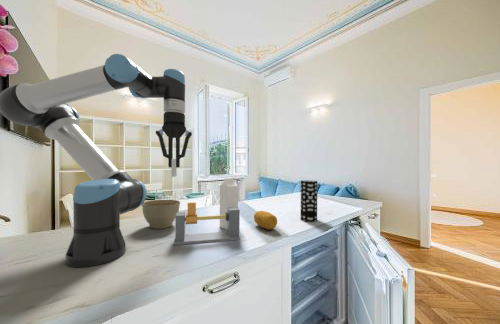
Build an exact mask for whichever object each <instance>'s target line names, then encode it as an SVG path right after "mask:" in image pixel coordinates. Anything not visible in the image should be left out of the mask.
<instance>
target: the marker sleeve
mask: <svg viewBox="0 0 500 324" xmlns="http://www.w3.org/2000/svg"><path fill="white" fill-rule="evenodd" d="M197 216H198V213H197V202H196V201H195V202H194V201H193V202H187V213H185V217H186V221H185V225H195V224H198V220H197Z"/></svg>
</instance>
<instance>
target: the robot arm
mask: <svg viewBox="0 0 500 324" xmlns="http://www.w3.org/2000/svg"><path fill="white" fill-rule="evenodd" d="M125 88H128V89H129V92H130V93H131V95H132V96H133V97H134V98H137V99H138V98H140V99H159V98H160V99H163V112H164V113H163V124H162V126H161V128H160V129H159V130H155V135H156V136H157V137H158V140H159V145H160V148H161V153H162V156H163V157H164V158H167V159H168V161H167V162H168V164H167V165H168V168H171V178H172V177H173V178H174V177H175V178H176V177H177V176H178V174H177V173H178V170H177V168H180V167H181V164H180V163H181V162H180V161H181V159H182V158H185V156H186V152H187V149H188V145H189V141H190V138H191V137H192V136H193V134H192V133H193V132H192V131H189V130H187V127H186V115H185V112H186V75H185V74H184V72H182V71H181V70H179V69H176V68H168V69H165V70H164V71H163V76H151V75H150V74H148V73H147V72H146V71H144V70H143V68H141V67H140V66H138V65H137V64H136V63H135V62H134V60H132V59H130V58H128V57H127V56H126V55H124V54H121V53H113V54H111V55H110V56H109V57H108V58H106V59H105V63H104V65H100V66H96V67H92V68H89V69H85V70H81V71H78V72H74V73H69V74H66V75H63V76H58V77H56V78H52V79H48V80H44V81H40V82H36V83H33V84H31V83H28V82H22V83H21V82H20V83H18V84H15V85H12V86H9V87H7V88H5V89H3V90H2V91H1V92H0V114H1V115H2V116H3V117H5V118H6V119H7V120H8V121H10V122H12V123H14V124H17V125H20V126H25V127H31V128H37V129H39V130H40V131H41V133H43V134H44V135H45V137H46V138H48V139H50V140H55V141H57V143H58V144H59V145H60V146H61V147H62V148H63V149H64V151H66V153H67V154H68V155H69V156H70V158H72V160H74V162H75V163H77V165H79V167H80V168H81V169H82V170H83V171H84V172H85V174H87V176H88V177H89V178H90V179H91V180H86V181H83V182H80V183H78V184H77V185H76V186H75V187H74V191H73V196H72V202H73V234H72V235H73V236H72V238H71V240H70V242H69V245H68V248H67V250H66V253H65V257H64V258H65V261H64V262H65V265H66V266H67V267H72V268H86V267H92V266H98V265H102V264H106V263H108V262H112V261H113V260H116V259H118V258H120V257H121V256H123V255H124V254H125V253H126V251H127V250H126V241H125V239H124V238H125V237H124V235H123V234H122V230H121V228H120V226H121V225H120V222H121V221H120V220H121V219H120V218H121V217H120V216H121V215H122V214H126V213H128V212H129V213H130V212H132V211H134V210H136V209H138V208H139V207H141V206H142V204H143V203H144V202H146V199H147V188H146V185H145V184H144V182H142V181H141V180H139V179H137V178H132V177H131V176H130V175H129V174H128V173H127V172H126V171H125V170H119V169H118V168H117V167H116V166H115V165H114V164H113V162H112V161H110V159H109V158H108V157H107V156H106V154H104V152H102V150H101V149H100V148H99V147H98V146H97V145H96V144H95V143H94V142H93V140H92V139H90V138H89V136H88V135H87V134H86V133H85V132H84V131H83V130H82V128H81V122H80V119H79V118H80V115H79V113H78V111H77V110H76V108H75V107H73V106H72V105H71V104H69V103H74V102H77V101H81V100H84V99H87V98H91V97H95V96H98V95H102V94H106V93H109V92H113V91H117V90H120V89H125ZM184 134H185V135H184ZM164 135H166V136H167V137H168V138H167V139H168V146H167V147H168V148H167V147H166V144H165V140H164ZM183 135H184V136H185V139H184V143H183V146H182V149H181V138H182V137H183ZM174 139H175V158H173V155H174V154H173V152H174V147H173V145H174V141H173V140H174ZM167 149H168V150H167ZM167 151H168V152H167Z"/></svg>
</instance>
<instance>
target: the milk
mask: <svg viewBox="0 0 500 324" xmlns="http://www.w3.org/2000/svg"><path fill="white" fill-rule="evenodd" d="M231 207H238V208H239V185H238V184H237V183H236V182H235V178H233V177H232V178H224V179H223V182H222V183H221V184H219V215H225V213H228V208H231ZM219 227H220V228H222V229H225V230H227V221H226V219H219Z"/></svg>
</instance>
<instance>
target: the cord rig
mask: <svg viewBox="0 0 500 324" xmlns="http://www.w3.org/2000/svg"><path fill="white" fill-rule="evenodd" d="M240 212H241V211H240V209H239V206H238V207H231V208H228V213H225V215H220V214H216V215H214V214H213V215H197V221H207V220H220V219H226V221H227V229H226V230H227V231H216V232H215V231H214V232H203V233H202V232H201V233H189V234H186V211H179V212H177V214H176V218H175V229H174V231H175V234H174V236H175V238H174V240H173V246H176V245H177V246H178V245H188V244H202V243H203V244H204V243H215V242H227V241H238V240H239V241H240V240H241V237H240V220H241V219H240V217H241V216H240Z"/></svg>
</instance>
